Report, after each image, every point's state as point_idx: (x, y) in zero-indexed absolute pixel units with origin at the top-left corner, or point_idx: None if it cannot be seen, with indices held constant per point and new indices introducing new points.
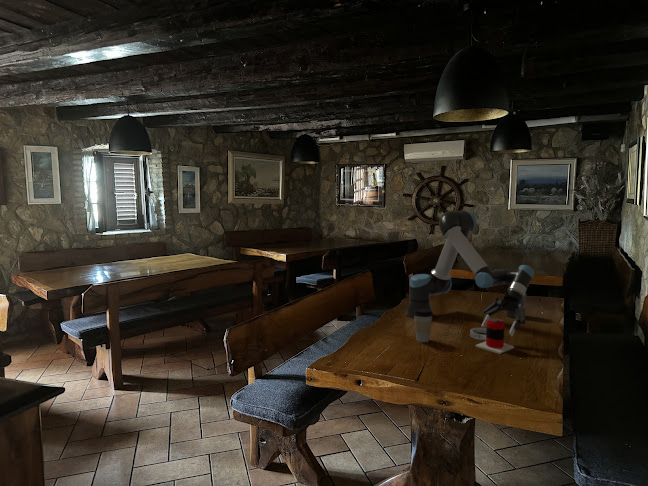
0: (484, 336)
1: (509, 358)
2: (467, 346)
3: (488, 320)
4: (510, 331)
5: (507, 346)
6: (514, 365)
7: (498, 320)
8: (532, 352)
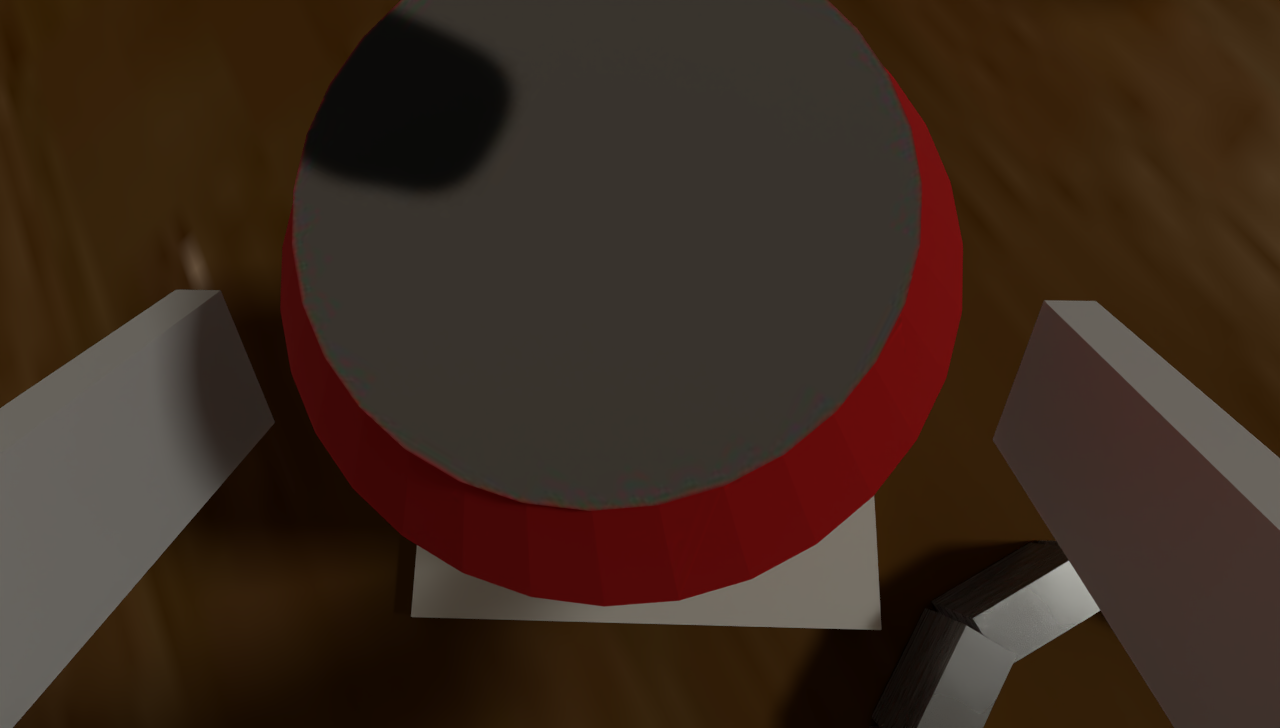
0: (994, 595)
1: (296, 157)
2: (930, 124)
3: (848, 32)
4: (154, 315)
5: None
6: (167, 7)
7: (460, 215)
8: (136, 637)
